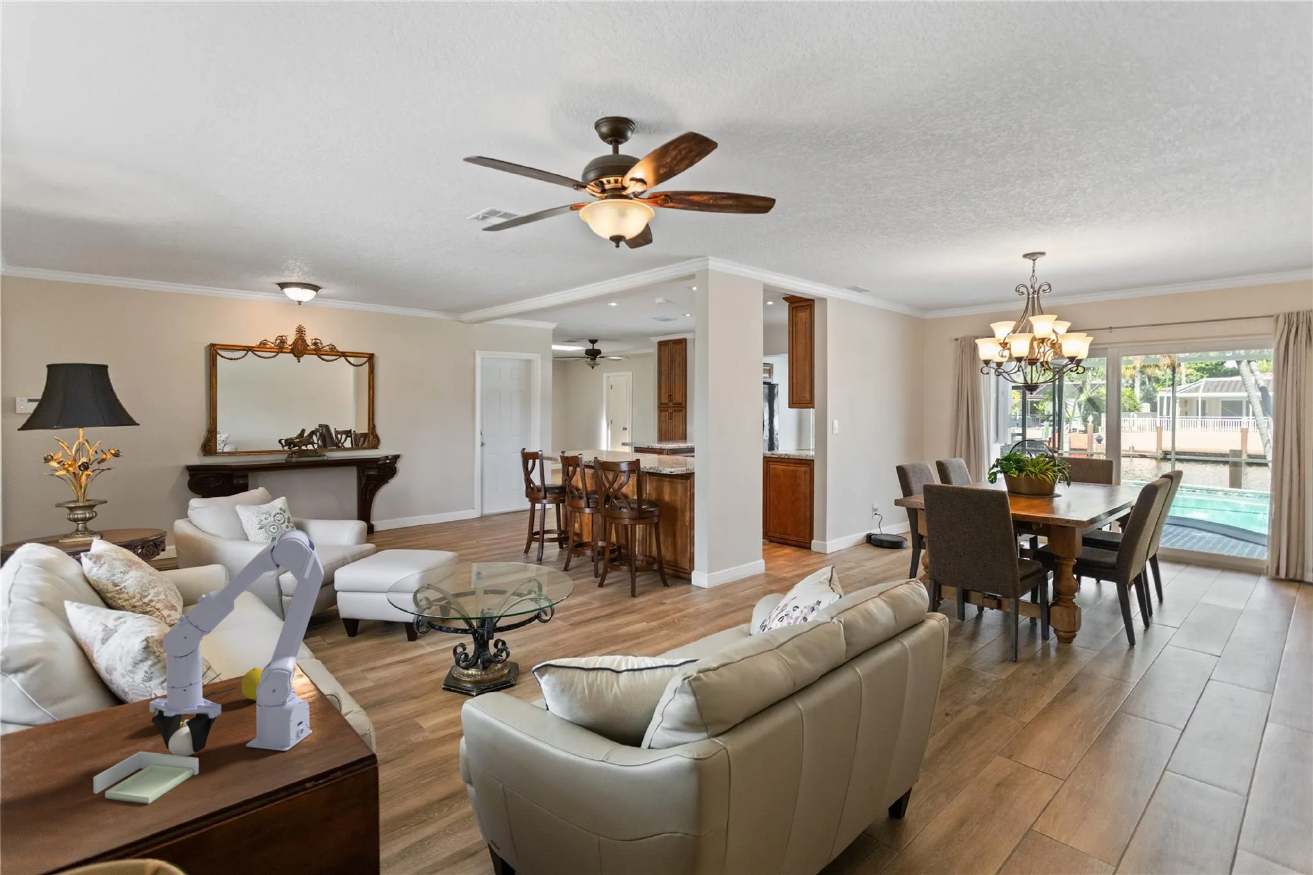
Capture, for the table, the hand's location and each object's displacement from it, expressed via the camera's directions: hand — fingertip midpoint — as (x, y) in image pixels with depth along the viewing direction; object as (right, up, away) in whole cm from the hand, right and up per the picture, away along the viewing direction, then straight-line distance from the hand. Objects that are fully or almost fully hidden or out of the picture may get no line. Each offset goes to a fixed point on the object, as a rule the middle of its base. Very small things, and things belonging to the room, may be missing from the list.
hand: (186, 748), depth 129 cm
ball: (0, -1, 0) cm, 1 cm away
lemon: (-1, -1, +25) cm, 25 cm away
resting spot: (+1, -2, -10) cm, 10 cm away
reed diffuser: (-12, +2, +9) cm, 15 cm away
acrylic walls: (0, -2, -9) cm, 9 cm away
